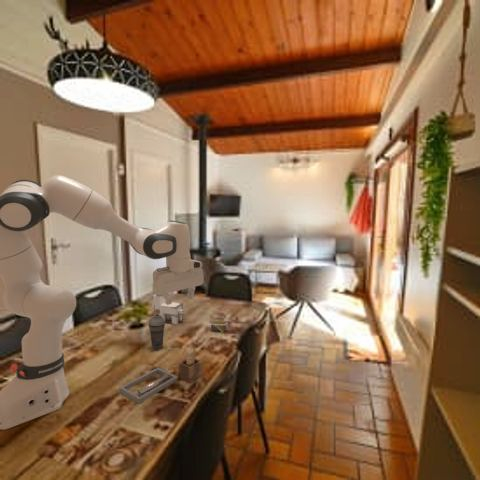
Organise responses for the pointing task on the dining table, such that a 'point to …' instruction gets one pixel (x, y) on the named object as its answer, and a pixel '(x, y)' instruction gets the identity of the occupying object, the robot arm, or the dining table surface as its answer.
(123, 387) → the tray
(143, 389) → the metal rod
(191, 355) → the dowel
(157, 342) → the beverage cup
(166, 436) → the dining table surface
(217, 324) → the platform
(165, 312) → the toy llama
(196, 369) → the pen pot
